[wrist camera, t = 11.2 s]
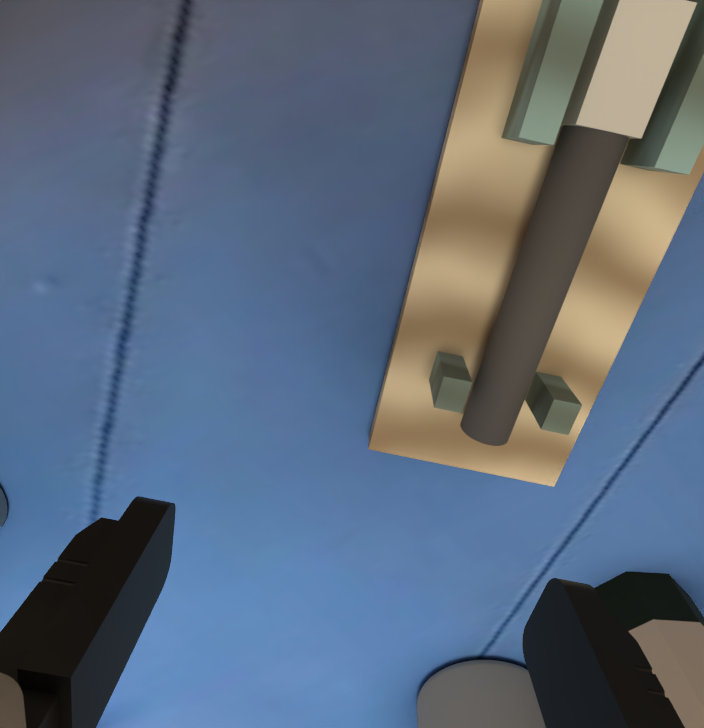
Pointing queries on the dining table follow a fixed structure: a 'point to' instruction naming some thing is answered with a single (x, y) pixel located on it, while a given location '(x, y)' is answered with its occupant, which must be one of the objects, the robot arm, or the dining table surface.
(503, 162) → the board
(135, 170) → the dining table surface
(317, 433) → the dining table surface
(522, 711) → the cylinder vase
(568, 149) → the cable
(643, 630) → the wine bottle
